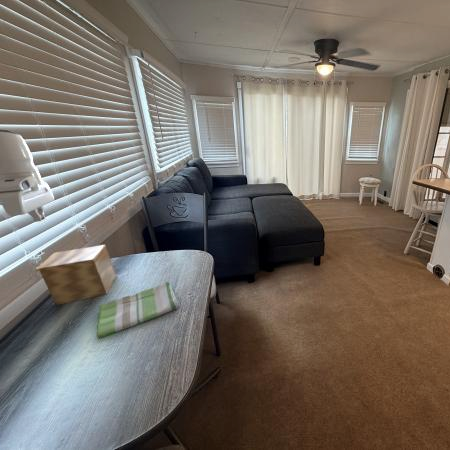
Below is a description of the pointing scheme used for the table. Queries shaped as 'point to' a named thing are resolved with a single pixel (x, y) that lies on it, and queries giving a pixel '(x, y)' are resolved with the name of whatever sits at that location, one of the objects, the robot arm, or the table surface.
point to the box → (80, 279)
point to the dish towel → (135, 309)
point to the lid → (71, 257)
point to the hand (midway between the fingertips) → (40, 220)
